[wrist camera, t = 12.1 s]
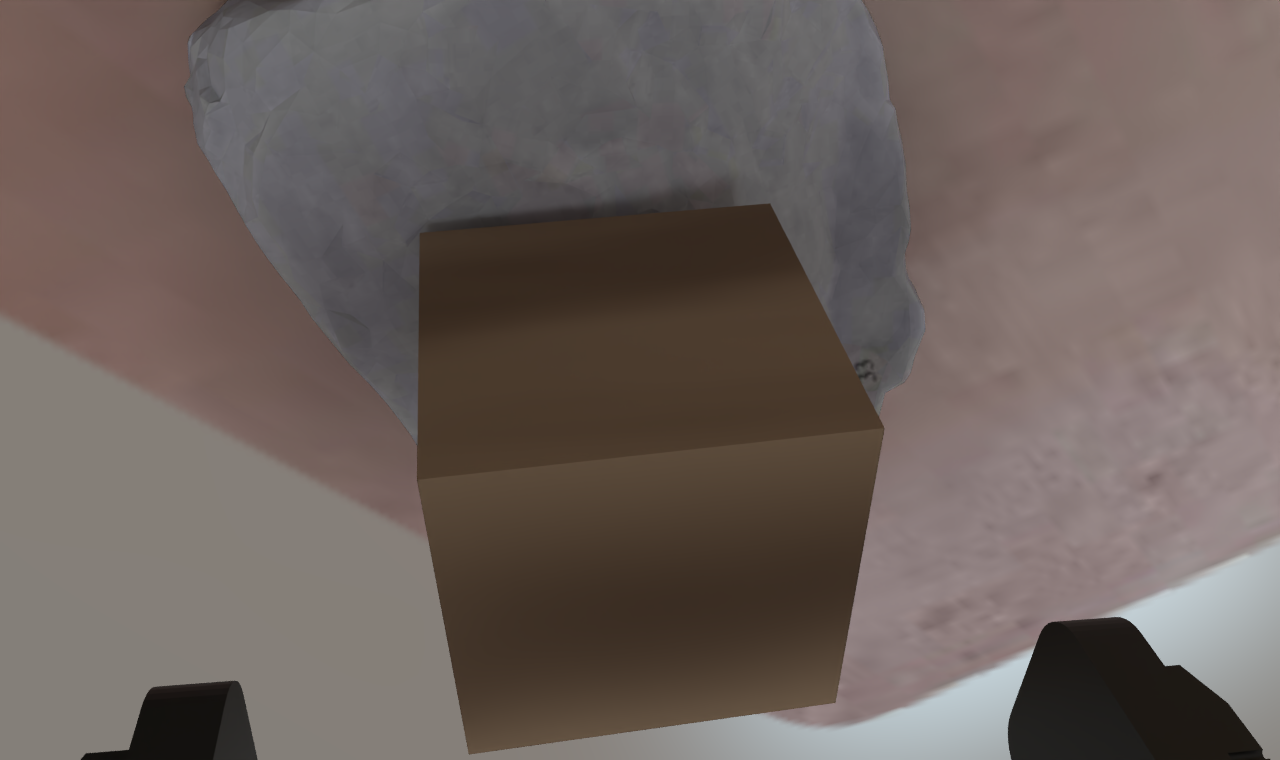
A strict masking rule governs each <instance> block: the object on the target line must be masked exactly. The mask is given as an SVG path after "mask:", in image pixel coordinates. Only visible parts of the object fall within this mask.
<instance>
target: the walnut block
mask: <svg viewBox="0 0 1280 760" xmlns="http://www.w3.org/2000/svg"><path fill="white" fill-rule="evenodd" d="M883 434H884V426H883V424H882V422H881V420H880V418H879V416H878V414H877V412H876V410H875V408H874V406H873V404H872V403H871V401H870V399H869V397H868V395H867V393H866V391H865V389H864V387H863V385H862V383H861V381H860V379H859V377H858V375H857V373H856V371H855V369H854V367H853V365H852V363H851V361H850V359H849V357H848V355H847V353H846V351H845V350H844V348H843V346H842V344H841V342H840V340H839V338H838V336H837V334H836V332H835V330H834V328H833V326H832V324H831V322H830V320H829V318H828V316H827V314H826V312H825V310H824V308H823V306H822V304H821V302H820V300H819V298H818V296H817V295H816V293H815V291H814V289H813V287H812V285H811V283H810V281H809V279H808V277H807V275H806V273H805V271H804V269H803V267H802V265H801V263H800V261H799V259H798V257H797V255H796V253H795V251H794V249H793V247H792V245H791V243H790V241H789V240H788V238H787V236H786V234H785V232H784V230H783V228H782V226H781V224H780V222H779V220H778V218H777V216H776V214H775V212H774V210H773V208H772V206H771V204H770V203H768V204H756V205H744V206H732V207H720V208H709V209H697V210H685V211H673V212H661V213H649V214H637V215H626V216H614V217H602V218H590V219H578V220H566V221H554V222H543V223H531V224H519V225H507V226H495V227H483V228H472V229H460V230H448V231H436V232H424V233H420V248H419V343H418V439H417V482H418V487H419V493H420V498H421V503H422V509H423V514H424V519H425V525H426V530H427V535H428V540H429V546H430V551H431V556H432V562H433V567H434V572H435V578H436V583H437V588H438V593H439V599H440V604H441V609H442V615H443V620H444V625H445V630H446V635H447V641H448V646H449V651H450V657H451V662H452V668H453V673H454V678H455V683H456V689H457V694H458V699H459V705H460V710H461V715H462V721H463V725H464V731H465V736H466V742H467V747H468V752H469V754H475V753H482V752H489V751H497V750H504V749H510V748H518V747H525V746H532V745H539V744H546V743H553V742H560V741H567V740H574V739H582V738H589V737H596V736H603V735H610V734H617V733H624V732H631V731H638V730H646V729H652V728H660V727H667V726H674V725H681V724H688V723H694V722H702V721H710V720H717V719H724V718H730V717H738V716H745V715H752V714H759V713H766V712H773V711H780V710H788V709H795V708H802V707H809V706H816V705H823V704H830V703H835V702H836V696H837V691H838V685H839V680H840V674H841V668H842V663H843V657H844V652H845V646H846V640H847V635H848V629H849V624H850V618H851V613H852V607H853V601H854V596H855V590H856V585H857V579H858V573H859V568H860V562H861V557H862V551H863V546H864V540H865V534H866V529H867V523H868V518H869V512H870V506H871V501H872V495H873V490H874V484H875V479H876V473H877V467H878V462H879V456H880V451H881V445H882V439H883Z"/></svg>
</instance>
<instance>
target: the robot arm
mask: <svg viewBox="0 0 1280 760" xmlns="http://www.w3.org/2000/svg"><path fill="white" fill-rule="evenodd" d="M1008 743H1009V750H1010V755H1011V759H1012V760H1270V759H1265V758H1264V757H1263V754H1262V750H1263V749H1262V748H1261V747H1260V745H1259V744H1258V743H1257V741H1256V740H1255V739H1254V737H1253V736H1252V735H1251V733H1250V732H1249V731H1248V729H1247V728H1246V727H1245V725H1244V724H1243V723H1242V721H1241V720H1240V719H1239V717H1238V716H1237V715H1236V713H1235V712H1234V711H1233V709H1232V708H1231V707H1230V705H1229V704H1228V703H1227V702H1226V701H1224V700H1223V699H1222V698H1220V697H1219V696H1218V695H1217V694H1215V693H1214V692H1213V691H1212V690H1210V689H1209V688H1208V687H1207V686H1205V685H1204V684H1203V683H1202V682H1200V681H1199V680H1198V679H1196V678H1195V677H1194V676H1193V675H1191V674H1190V673H1189V672H1188V671H1187V670H1185V669H1184V668H1183V667H1181V666H1180V665H1175V666H1164V665H1163V663H1162V662H1161V660H1160V659H1159V658H1158V656H1157V655H1156V653H1155V652H1154V651H1153V649H1152V648H1151V646H1150V645H1149V644H1148V642H1147V641H1146V639H1145V638H1144V637H1143V635H1142V634H1141V633H1140V631H1139V630H1138V629H1137V628H1136V627H1135V626H1134V625H1133V624H1132V623H1131V622H1130V621H1128V620H1126V619H1124V618H1121V617H1111V618H1098V619H1085V620H1072V621H1058V622H1051V623H1048V624H1047V625H1046V626H1045V627H1044V628H1043V629H1042V631H1041V633H1040V635H1039V638H1038V641H1037V643H1036V646H1035V649H1034V652H1033V654H1032V657H1031V660H1030V663H1029V665H1028V668H1027V671H1026V674H1025V676H1024V679H1023V682H1022V685H1021V687H1020V690H1019V693H1018V695H1017V698H1016V701H1015V704H1014V706H1013V709H1012V712H1011V715H1010V719H1009V725H1008ZM81 760H257V755H256V750H255V746H254V742H253V737H252V732H251V727H250V723H249V719H248V714H247V710H246V704H245V700H244V695H243V692H242V688H241V686H240V684H239V682H238V681H225V682H212V683H199V684H186V685H172V686H159V687H153V688H151V689H150V690H149V692H148V693H147V695H146V697H145V699H144V702H143V705H142V707H141V711H140V714H139V718H138V721H137V724H136V728H135V731H134V735H133V738H132V741H131V745H130V748H129V750H123V751H110V752H99V753H86V754H85V755H84V757H83V758H82V759H81Z"/></svg>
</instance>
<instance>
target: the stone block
mask: <svg viewBox="0 0 1280 760" xmlns="http://www.w3.org/2000/svg"><path fill="white" fill-rule="evenodd" d="M188 60H189V69H190V77H189V79H188V81H187V83H186V84H185V86H184V88H185V92H186V97H187V99H188V101H189V103H190V105H191V107H192V111H193V124H194V129H195V133H196V138H197V143H198V145H199V147H200V148H201V150H202V151H203V153H204V154H205V156H206V157H207V159H208V160H209V162H210V164H211V166H212V168H213V170H214V171H215V173H216V175H217V176H218V178H219V179H220V181H221V182H222V184H223V186H224V187H225V189H226V190H227V192H228V194H229V196H230V198H231V199H232V201H233V203H234V205H235V207H236V209H237V211H238V212H239V214H240V216H241V218H242V219H243V221H244V223H245V225H246V226H247V228H248V229H249V231H250V233H251V234H252V236H253V238H254V239H255V241H256V242H257V244H258V245H259V247H260V248H261V250H262V251H263V253H264V254H265V255H266V257H267V258H268V260H269V261H270V262H271V264H272V265H273V266H274V268H275V269H276V270H277V272H278V273H279V274H280V275H281V277H282V278H283V279H284V280H285V282H286V283H287V284H288V285H289V287H290V288H291V289H292V290H293V292H294V293H295V294H296V295H297V297H298V298H299V299H300V301H301V302H302V304H303V305H304V307H305V308H306V310H307V311H308V313H309V315H310V316H311V317H312V319H313V320H314V321H315V322H316V324H317V325H318V326H319V327H320V329H321V330H322V331H323V332H324V334H325V335H326V336H327V337H328V338H329V340H330V341H331V342H332V343H333V344H334V346H335V347H336V348H337V349H338V351H339V352H340V353H341V354H342V355H343V357H344V358H345V359H346V360H347V362H348V363H349V364H350V365H351V366H352V367H353V368H354V369H355V370H356V371H357V372H358V373H359V374H360V375H361V376H362V377H363V378H364V379H365V380H366V381H367V382H368V383H369V384H370V385H371V386H372V387H373V388H374V389H375V390H376V392H377V393H378V394H379V395H380V396H381V397H382V398H383V400H384V401H385V402H386V403H387V404H388V406H389V407H390V408H391V409H392V411H393V412H394V413H395V415H396V416H397V417H398V419H399V420H400V421H401V423H402V424H403V425H404V426H405V428H406V429H407V430H408V432H409V433H410V434H411V436H412V437H413V439H414V441H415V443H416V445H417V439H418V343H419V248H420V233H424V232H436V231H448V230H460V229H472V228H483V227H495V226H507V225H519V224H531V223H543V222H554V221H566V220H578V219H590V218H602V217H614V216H626V215H637V214H649V213H661V212H673V211H685V210H697V209H709V208H720V207H732V206H744V205H756V204H768V203H770V204H771V206H772V208H773V210H774V212H775V214H776V216H777V218H778V220H779V222H780V224H781V226H782V228H783V230H784V232H785V234H786V236H787V238H788V240H789V241H790V243H791V245H792V247H793V249H794V251H795V253H796V255H797V257H798V259H799V261H800V263H801V265H802V267H803V269H804V271H805V273H806V275H807V277H808V279H809V281H810V283H811V285H812V287H813V289H814V291H815V293H816V295H817V296H818V298H819V300H820V302H821V304H822V306H823V308H824V310H825V312H826V314H827V316H828V318H829V320H830V322H831V324H832V326H833V328H834V330H835V332H836V334H837V336H838V338H839V340H840V342H841V344H842V346H843V348H844V350H845V351H846V353H847V355H848V357H849V359H850V361H851V363H852V365H853V367H854V369H855V371H856V373H857V375H858V377H859V379H860V381H861V383H862V385H863V387H864V389H865V391H866V393H867V395H868V397H869V399H870V401H871V403H872V404H873V406H874V408H875V410H876V412H877V414H878V416H879V414H880V411H881V407H882V403H883V399H884V395H885V393H886V392H888V391H889V390H891V389H893V388H895V387H897V386H899V385H900V384H902V383H904V382H905V380H906V379H907V377H908V376H909V374H910V373H911V369H912V365H913V361H914V357H915V354H916V352H917V349H918V347H919V344H920V342H921V339H922V337H923V334H924V332H925V316H924V309H923V306H922V304H921V302H920V299H919V297H918V295H917V292H916V290H915V288H914V286H913V284H912V282H911V281H910V279H909V277H908V274H907V271H906V263H905V251H906V248H907V244H908V241H909V236H910V231H911V226H910V208H909V201H908V195H907V188H906V164H905V158H904V151H903V145H902V140H901V135H900V131H899V126H898V122H897V116H896V110H895V108H894V106H893V104H892V103H891V101H890V97H889V85H888V76H887V71H886V65H885V59H884V53H883V46H882V43H881V40H880V37H879V34H878V31H877V28H876V26H875V24H874V22H873V20H872V18H871V16H870V14H869V12H868V10H867V8H866V7H865V5H864V4H863V2H862V0H228V1H227V2H226V3H225V4H224V5H223V6H222V7H221V8H220V9H219V10H218V11H217V12H216V13H214V14H213V15H212V16H210V17H209V18H208V19H207V20H206V21H205V22H204V23H203V24H202V25H201V26H200V27H199V28H198V29H197V30H196V31H195V32H194V33H193V34H192V35H191V36H190V37H189V41H188Z"/></svg>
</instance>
